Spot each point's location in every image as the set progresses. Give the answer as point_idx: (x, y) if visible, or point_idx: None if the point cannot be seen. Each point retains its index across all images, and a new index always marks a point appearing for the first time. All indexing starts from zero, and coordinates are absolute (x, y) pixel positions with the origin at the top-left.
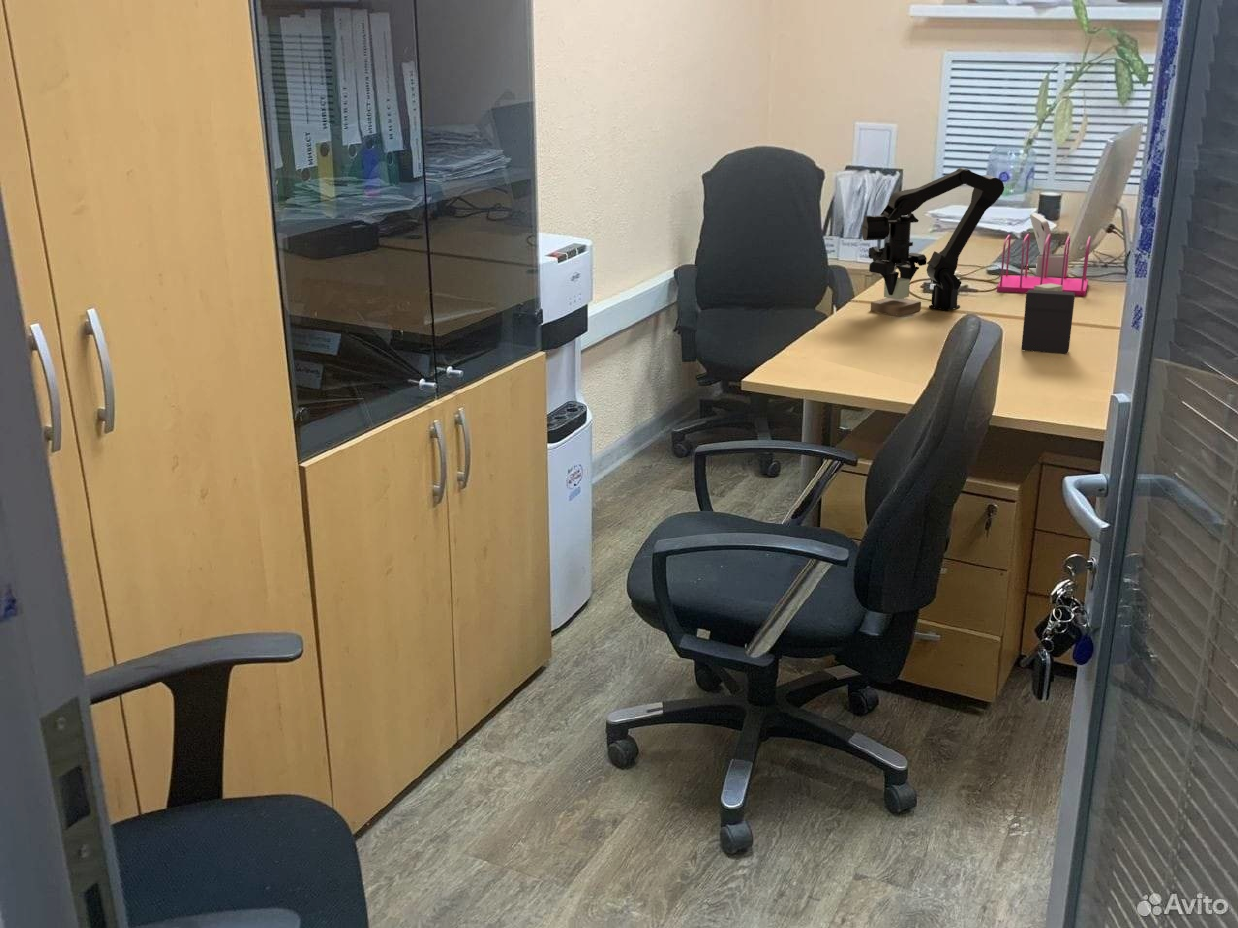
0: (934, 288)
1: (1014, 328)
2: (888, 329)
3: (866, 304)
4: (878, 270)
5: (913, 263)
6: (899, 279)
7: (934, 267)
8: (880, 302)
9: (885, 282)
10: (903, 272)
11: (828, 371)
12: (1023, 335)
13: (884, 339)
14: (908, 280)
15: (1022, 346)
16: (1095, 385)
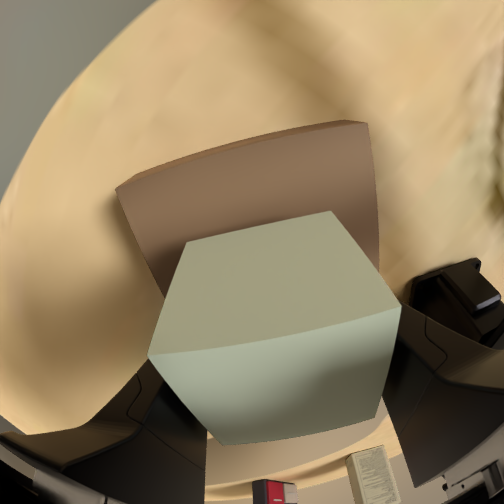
0: (472, 333)
1: (349, 446)
2: (104, 391)
3: (213, 25)
4: (20, 490)
5: None
6: (309, 407)
7: (443, 489)
8: (163, 231)
9: (131, 383)
10: (428, 414)
11: (13, 415)
12: (253, 498)
13: (80, 413)
14: (354, 419)
15: (252, 486)
16: (228, 499)
